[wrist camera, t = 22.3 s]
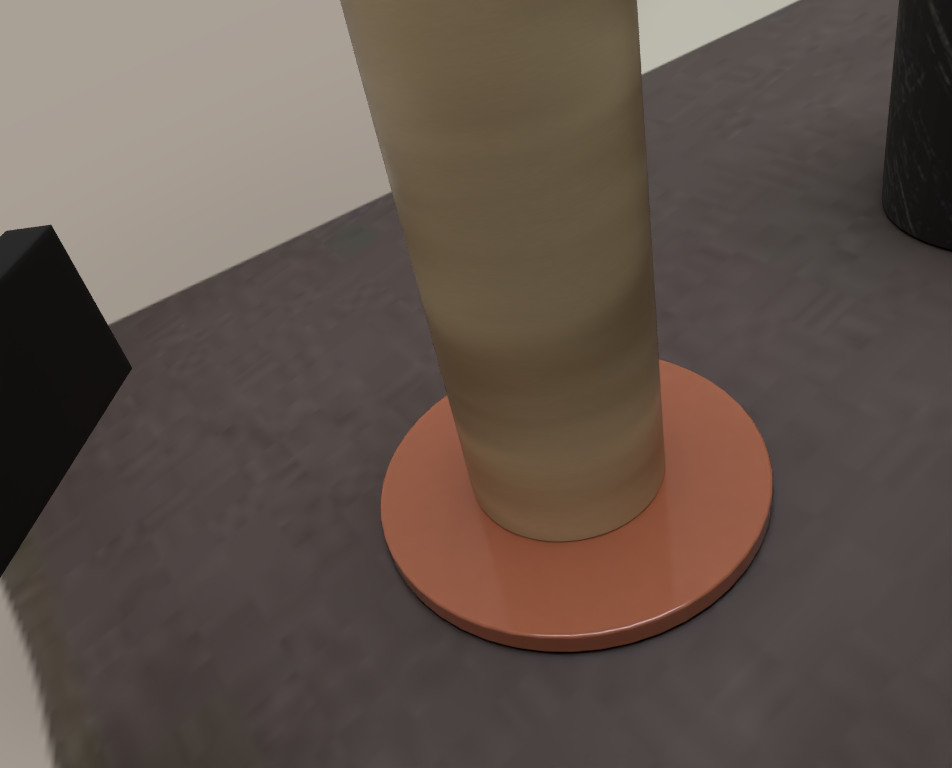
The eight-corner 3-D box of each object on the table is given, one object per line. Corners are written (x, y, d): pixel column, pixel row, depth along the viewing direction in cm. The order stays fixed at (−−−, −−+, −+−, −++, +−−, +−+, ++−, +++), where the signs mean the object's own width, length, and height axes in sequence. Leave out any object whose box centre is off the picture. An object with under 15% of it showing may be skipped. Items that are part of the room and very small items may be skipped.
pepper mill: (669, 524, 23) (717, 625, 9) (488, 534, 24) (282, 641, 10) (622, 31, 24) (604, -531, 10) (453, 58, 25) (232, -424, 11)
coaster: (786, 377, 24) (787, 360, 23) (750, 697, 17) (751, 680, 16) (460, 354, 27) (456, 340, 27) (320, 609, 20) (313, 594, 20)
